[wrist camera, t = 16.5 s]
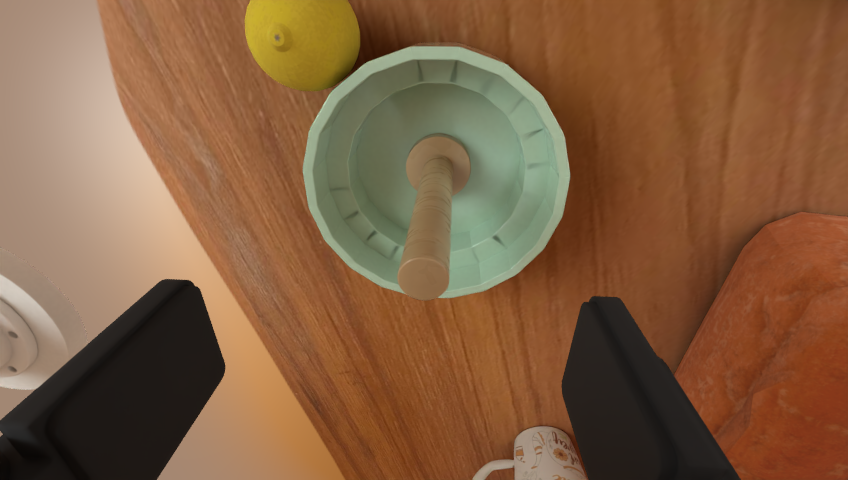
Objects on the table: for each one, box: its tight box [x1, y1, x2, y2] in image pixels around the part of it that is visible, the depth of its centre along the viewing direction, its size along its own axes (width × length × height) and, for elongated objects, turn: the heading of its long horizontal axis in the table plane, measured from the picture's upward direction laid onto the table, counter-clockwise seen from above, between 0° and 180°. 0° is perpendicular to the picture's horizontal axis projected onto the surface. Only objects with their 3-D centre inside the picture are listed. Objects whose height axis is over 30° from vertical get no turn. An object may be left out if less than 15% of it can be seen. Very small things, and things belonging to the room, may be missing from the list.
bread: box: [674, 212, 848, 480], centre depth 29 cm, size 16×27×11 cm, turn 177°
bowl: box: [303, 42, 570, 298], centre depth 25 cm, size 15×15×6 cm
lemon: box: [245, 0, 360, 91], centre depth 21 cm, size 6×6×8 cm
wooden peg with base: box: [397, 133, 471, 300], centre depth 21 cm, size 4×4×14 cm
